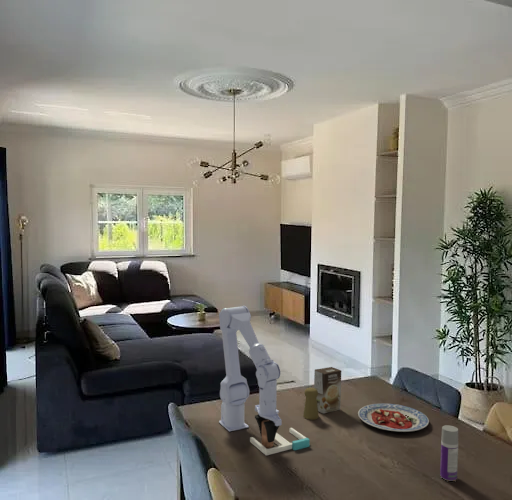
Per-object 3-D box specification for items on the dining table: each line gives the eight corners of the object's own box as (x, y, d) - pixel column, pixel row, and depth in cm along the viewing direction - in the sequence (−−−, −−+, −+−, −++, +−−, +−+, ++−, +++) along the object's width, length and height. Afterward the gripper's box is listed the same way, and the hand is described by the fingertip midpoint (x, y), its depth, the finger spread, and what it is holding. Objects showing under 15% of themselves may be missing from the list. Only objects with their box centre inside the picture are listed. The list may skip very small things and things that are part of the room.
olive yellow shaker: (318, 420, 184) (318, 391, 184) (302, 418, 185) (302, 390, 185) (319, 414, 190) (319, 386, 189) (303, 412, 191) (304, 385, 191)
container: (437, 473, 146) (438, 425, 145) (452, 473, 146) (453, 424, 145) (444, 482, 141) (446, 432, 140) (460, 481, 141) (461, 431, 141)
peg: (259, 444, 164) (259, 421, 164) (269, 441, 166) (269, 418, 166) (265, 449, 161) (265, 425, 160) (275, 446, 163) (275, 423, 162)
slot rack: (249, 441, 166) (250, 434, 166) (291, 431, 174) (291, 424, 174) (268, 457, 155) (268, 449, 155) (311, 445, 163) (312, 438, 163)
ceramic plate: (352, 429, 177) (352, 421, 177) (364, 404, 201) (364, 397, 201) (426, 442, 167) (427, 433, 167) (430, 414, 191) (430, 407, 191)
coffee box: (323, 414, 190) (323, 373, 189) (313, 408, 196) (313, 369, 195) (341, 409, 195) (341, 370, 194) (330, 404, 200) (331, 366, 199)
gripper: (289, 404, 158) (289, 445, 159) (267, 390, 171) (267, 428, 172) (271, 408, 155) (270, 449, 155) (249, 393, 167) (249, 432, 168)
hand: (267, 438), depth 163 cm, fingers closed on peg, 4 cm apart
